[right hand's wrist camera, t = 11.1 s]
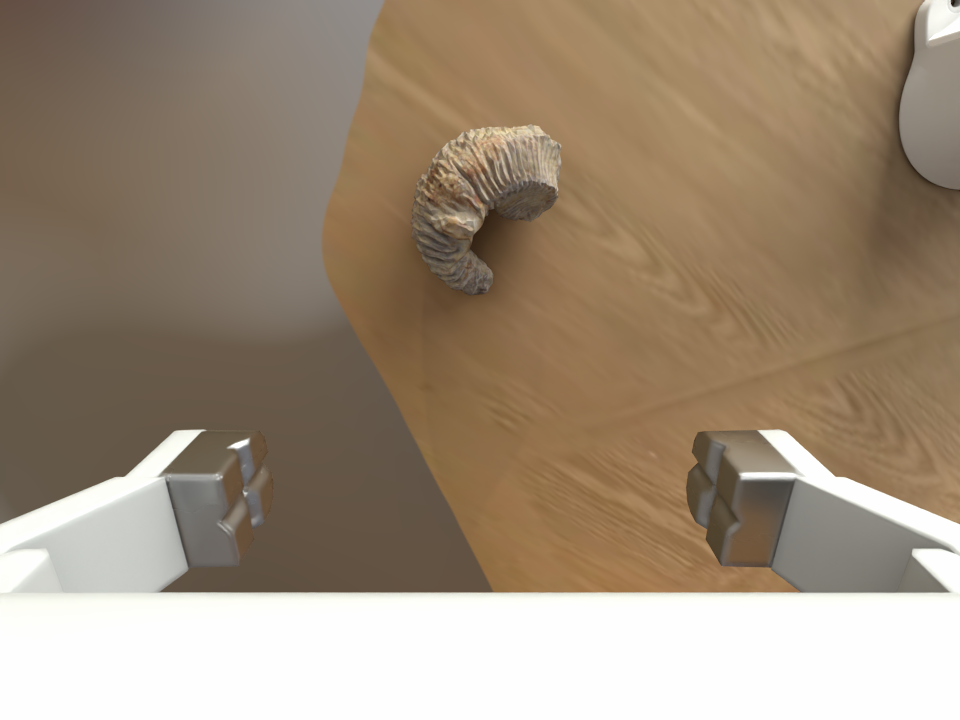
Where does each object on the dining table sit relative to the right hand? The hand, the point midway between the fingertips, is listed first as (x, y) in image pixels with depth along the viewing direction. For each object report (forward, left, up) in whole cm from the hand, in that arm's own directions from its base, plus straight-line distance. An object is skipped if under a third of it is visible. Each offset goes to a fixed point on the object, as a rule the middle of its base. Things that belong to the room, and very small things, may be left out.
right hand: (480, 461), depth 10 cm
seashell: (-2, 0, -37) cm, 37 cm away
